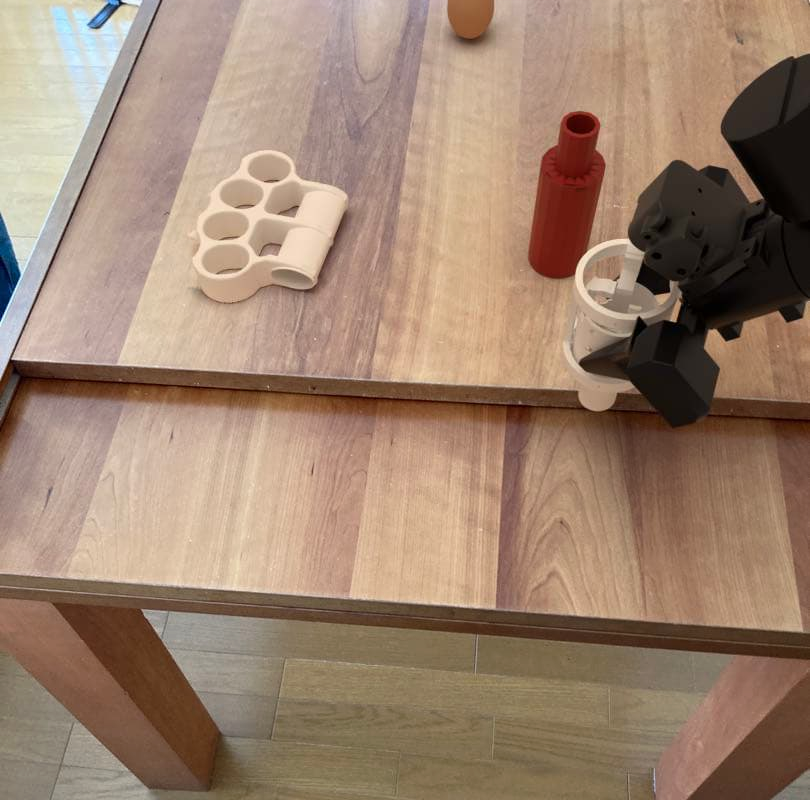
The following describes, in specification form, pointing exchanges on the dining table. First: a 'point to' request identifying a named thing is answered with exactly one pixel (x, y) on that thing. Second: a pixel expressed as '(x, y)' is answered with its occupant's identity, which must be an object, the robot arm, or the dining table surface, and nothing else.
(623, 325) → the cream cylindrical cage part
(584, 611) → the dining table surface
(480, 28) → the egg
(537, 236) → the sauce bottle
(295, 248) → the knuckle duster
